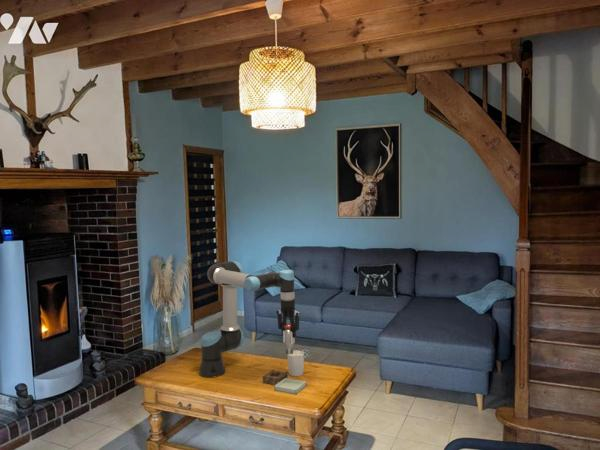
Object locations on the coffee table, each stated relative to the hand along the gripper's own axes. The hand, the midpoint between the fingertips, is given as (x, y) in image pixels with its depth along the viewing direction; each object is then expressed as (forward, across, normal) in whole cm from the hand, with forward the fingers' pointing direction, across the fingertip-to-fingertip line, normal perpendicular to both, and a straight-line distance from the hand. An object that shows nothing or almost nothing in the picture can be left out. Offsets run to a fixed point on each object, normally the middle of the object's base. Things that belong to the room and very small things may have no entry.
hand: (289, 342), depth 244 cm
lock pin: (+6, 0, 0) cm, 6 cm away
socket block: (+25, -12, +5) cm, 28 cm away
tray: (+25, 0, 0) cm, 25 cm away
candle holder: (+25, -8, +20) cm, 33 cm away
